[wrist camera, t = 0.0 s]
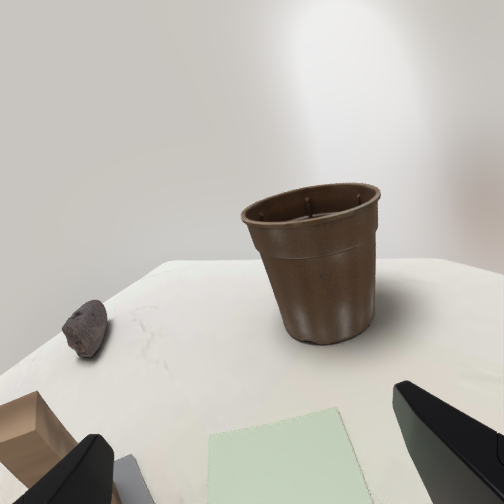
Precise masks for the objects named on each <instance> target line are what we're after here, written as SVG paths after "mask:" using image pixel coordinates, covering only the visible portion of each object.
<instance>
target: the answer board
mask: <svg viewBox="0 0 504 504" xmlns="http://www.w3.org/2000/svg"><path fill="white" fill-rule="evenodd" d="M207 504H373V502H372V500H371V497H370V494H369V492H368V489H367V486H366V483H365V481H364V478H363V475H362V473H361V470H360V467H359V465H358V462H357V459H356V457H355V454H354V451H353V449H352V446H351V443H350V441H349V438H348V435H347V433H346V430H345V428H344V425H343V422H342V420H341V417H340V415H339V412H338V409H337V407H333V408H329V409H326V410H322V411H319V412H315V413H312V414H308V415H304V416H300V417H296V418H292V419H288V420H284V421H280V422H275V423H271V424H266V425H261V426H257V427H252V428H246V429H241V430H235V431H229V432H223V433H217V434H210V435H209V455H208V497H207Z"/></svg>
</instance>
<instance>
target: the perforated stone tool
mask: <svg viewBox="0 0 504 504" xmlns="http://www.w3.org/2000/svg"><path fill="white" fill-rule="evenodd" d="M106 327H107V313H106V309H105V307H104V305H103V304H102V303H101V302H100V301H99V300H91V301H89V302H87V303H85V304H84V305H82V306H81V307H80V308H79V309H78V310H77V311H75V312H74V313H73V314H72V316H71V317H70V318H68V320H67V321H66V323H65V324H64V326H63V327H62V331H63V333H64V334H65V336H66V338H67V343H68V345H69V347H71V348H72V349H74V350H75V351H76V353H77V355H78V356H79V357H90V358H91V357H92V356H93V355H94V354H95V352H96V351H97V350H98V349H99V347H100V345H101V343H102V340H103V338H104V335H105V331H106Z"/></svg>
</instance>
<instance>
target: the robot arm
mask: <svg viewBox="0 0 504 504" xmlns="http://www.w3.org/2000/svg"><path fill="white" fill-rule="evenodd" d="M393 409H394V412H395V415H396V418H397V420H398V423H399V426H400V429H401V432H402V435H403V438H404V441H405V444H406V446H407V449H408V452H409V454H410V456H411V458H412V460H413V462H414V464H415V466H416V469H417V471H418V473H419V475H420V477H421V479H422V481H423V483H424V485H425V487H426V489H427V492H428V494H429V496H430V498H431V500H432V502H433V504H504V435H502V434H500V433H497V431H495V430H493V429H491V428H489V427H488V426H486V425H484V424H482V423H481V422H479V421H477V420H475V419H474V418H472V417H470V416H468V415H466V414H465V413H463V412H461V411H460V410H458V409H456V408H454V407H453V406H451V405H449V404H447V403H446V402H444V401H442V400H441V399H439V398H437V397H435V396H434V395H432V394H430V393H429V392H427V391H425V390H424V389H422V388H420V387H418V386H417V385H415V384H413V383H412V382H410V381H407V380H406V381H403V382H400V383H397V384H395V385H394V388H393ZM113 471H114V451H113V449H112V448H111V446H110V445H109V444H108V443H107V442H106V440H105V439H104V438H103V437H102V436H101V435H100V434H89V435H87V436H86V437H85V438H84V439H83V440H82V441H81V442H80V443H79V444H78V445H77V446H76V447H74V448H73V449H72V450H71V451H70V452H69V453H68V454H67V455H66V456H65V457H64V458H63V459H61V460H60V461H59V462H58V463H57V464H56V465H55V466H54V467H53V468H52V469H51V470H50V471H48V472H47V473H46V474H45V475H44V476H43V477H42V478H41V479H40V480H39V481H37V482H36V483H35V484H34V485H33V486H32V487H31V488H30V489H29V490H28V491H26V492H25V494H23V495H22V496H21V497H20V498H19V499H17V500H16V501H15V502H14V503H13V504H111V502H112V493H113Z"/></svg>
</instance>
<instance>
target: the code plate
mask: <svg viewBox="0 0 504 504" xmlns="http://www.w3.org/2000/svg"><path fill="white" fill-rule="evenodd" d="M113 481H114V482H115V485H116V488H117V491H118V494H119V497H120V499H121V502H122V504H154V502H153V500H152V498H151V496H150V493H149V491H148V489H147V487H146V484H145V482H144V480H143V478H142V475H141V473H140V470H139V468H138V465H137V463H136V461H135V458H134V456H133V455H132V454H130V455H128V456H125V457H123V458H121V459H118V460H116V461H114V471H113Z"/></svg>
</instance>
